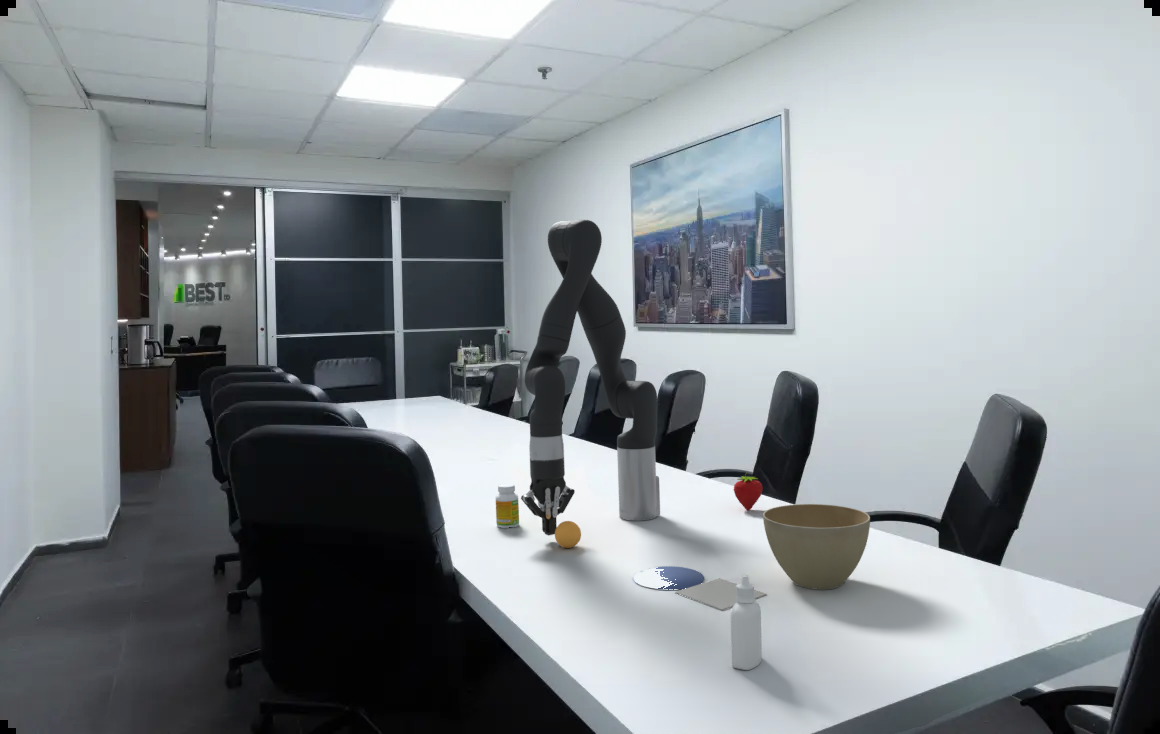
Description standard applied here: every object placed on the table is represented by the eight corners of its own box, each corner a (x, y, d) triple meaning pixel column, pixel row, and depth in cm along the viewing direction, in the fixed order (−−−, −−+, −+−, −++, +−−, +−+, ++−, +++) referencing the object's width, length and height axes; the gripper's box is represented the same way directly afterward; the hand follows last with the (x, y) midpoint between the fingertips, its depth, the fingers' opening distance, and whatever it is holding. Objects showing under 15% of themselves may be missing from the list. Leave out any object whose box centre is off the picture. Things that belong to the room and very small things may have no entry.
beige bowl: (869, 570, 141) (868, 505, 141) (872, 604, 124) (871, 530, 124) (769, 563, 147) (768, 501, 147) (759, 595, 130) (757, 524, 130)
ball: (571, 542, 167) (570, 516, 166) (586, 547, 162) (585, 521, 162) (550, 547, 163) (549, 521, 163) (565, 552, 159) (564, 526, 159)
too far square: (719, 579, 139) (719, 578, 139) (767, 594, 130) (767, 593, 130) (674, 593, 133) (674, 591, 133) (721, 610, 124) (721, 609, 124)
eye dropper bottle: (720, 661, 105) (718, 575, 105) (753, 652, 108) (751, 568, 107) (740, 673, 101) (738, 584, 101) (773, 664, 104) (772, 576, 103)
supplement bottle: (515, 528, 180) (514, 487, 179) (493, 528, 181) (492, 487, 180) (521, 523, 185) (520, 483, 185) (500, 522, 186) (499, 482, 186)
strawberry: (768, 510, 189) (767, 470, 188) (742, 514, 186) (741, 473, 186) (754, 505, 194) (753, 466, 194) (729, 509, 192) (728, 469, 191)
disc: (670, 563, 150) (670, 562, 150) (719, 579, 139) (719, 578, 139) (618, 577, 142) (618, 576, 142) (666, 595, 132) (666, 594, 132)
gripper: (563, 450, 174) (565, 525, 175) (512, 457, 167) (514, 536, 167) (581, 454, 168) (584, 532, 169) (529, 461, 160) (532, 543, 161)
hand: (549, 534), depth 168 cm, fingers closed
